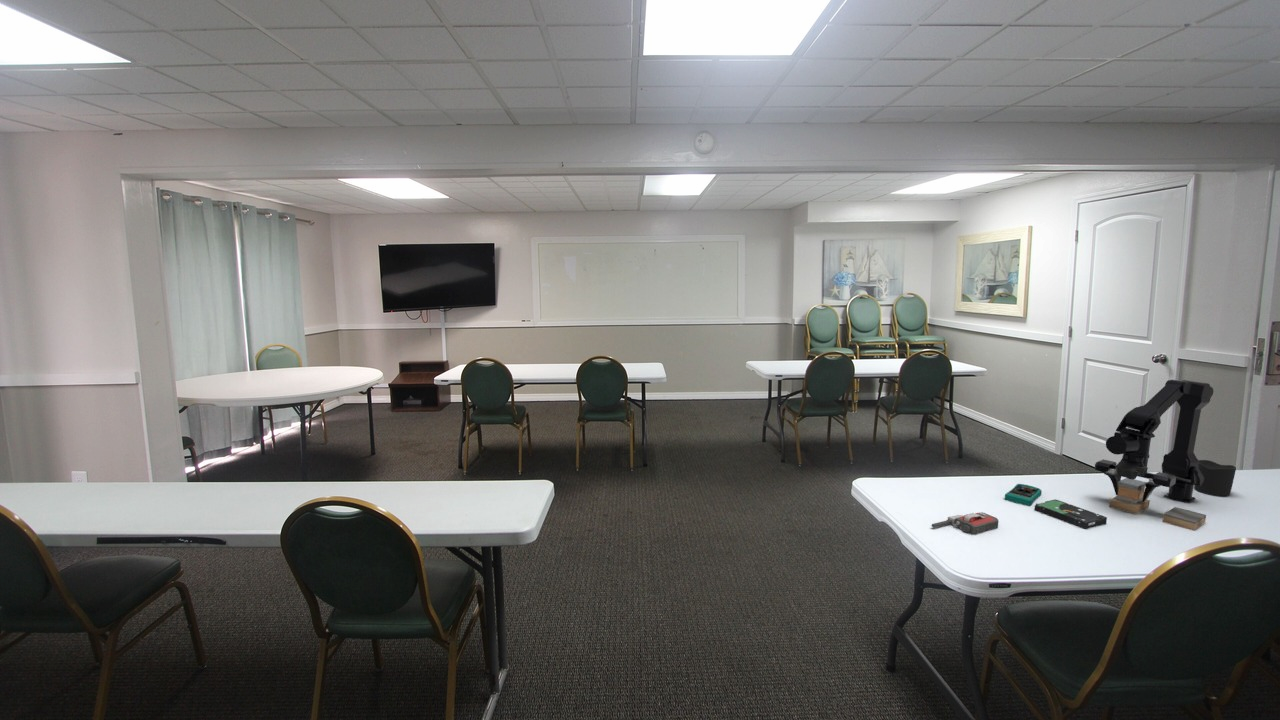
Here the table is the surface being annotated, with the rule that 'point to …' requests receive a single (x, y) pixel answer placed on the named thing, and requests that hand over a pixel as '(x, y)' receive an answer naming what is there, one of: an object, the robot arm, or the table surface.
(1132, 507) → the stand
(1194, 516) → the stand
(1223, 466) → the pen holder
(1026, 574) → the table surface
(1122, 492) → the block
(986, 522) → the walkie-talkie
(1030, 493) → the digital multimeter
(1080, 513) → the disk drive
